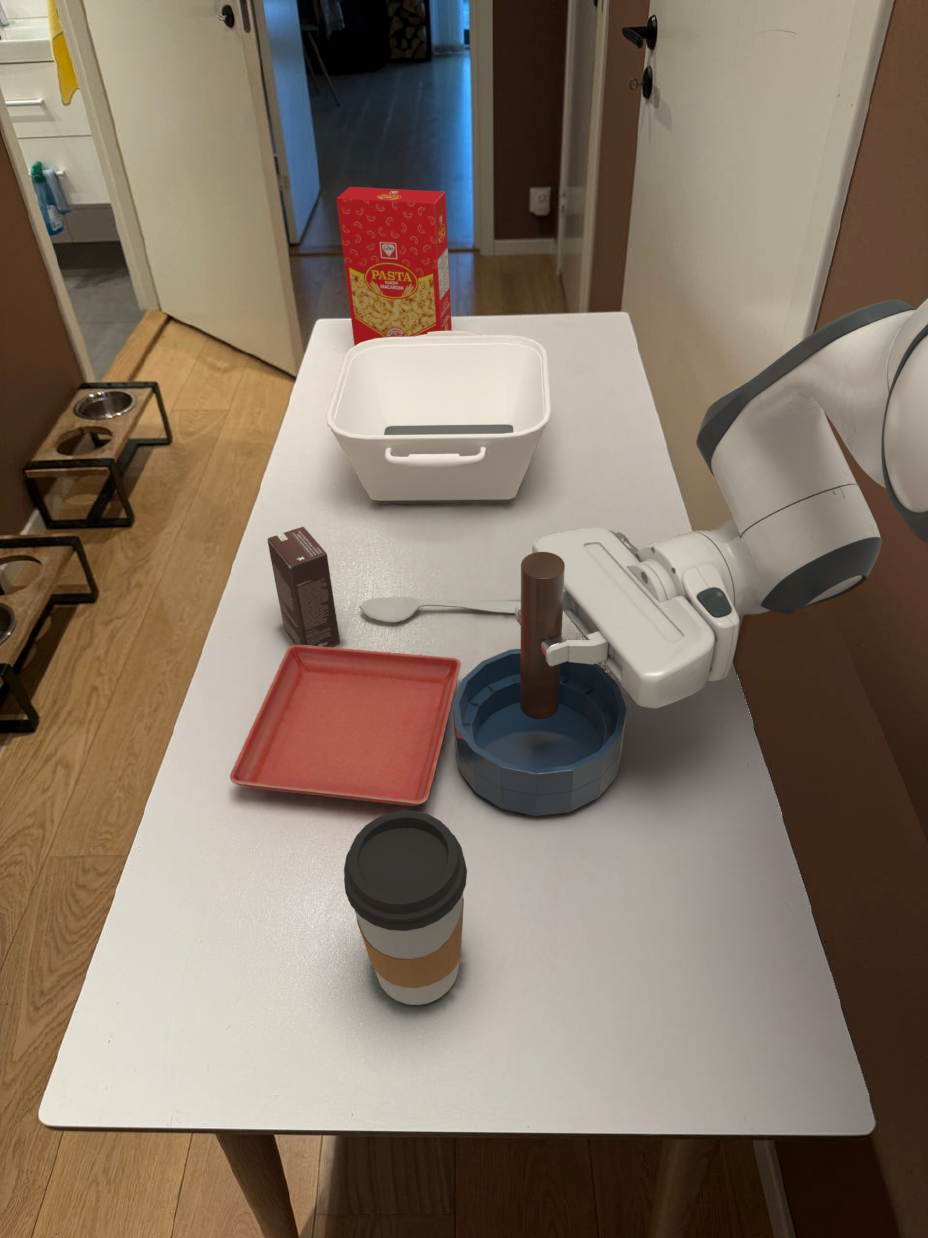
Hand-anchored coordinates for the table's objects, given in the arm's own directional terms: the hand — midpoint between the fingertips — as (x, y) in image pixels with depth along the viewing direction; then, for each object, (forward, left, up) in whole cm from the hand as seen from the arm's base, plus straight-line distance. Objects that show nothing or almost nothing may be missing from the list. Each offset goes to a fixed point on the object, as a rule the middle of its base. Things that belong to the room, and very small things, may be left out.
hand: (531, 636), depth 76 cm
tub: (+38, -34, -15) cm, 53 cm away
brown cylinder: (0, -1, -9) cm, 9 cm away
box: (+29, 0, -15) cm, 32 cm away
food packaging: (+65, -56, -15) cm, 87 cm away
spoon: (+19, -12, -15) cm, 27 cm away
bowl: (0, -1, -15) cm, 15 cm away
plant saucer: (+15, +8, -15) cm, 23 cm away
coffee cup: (-5, +22, -15) cm, 28 cm away
